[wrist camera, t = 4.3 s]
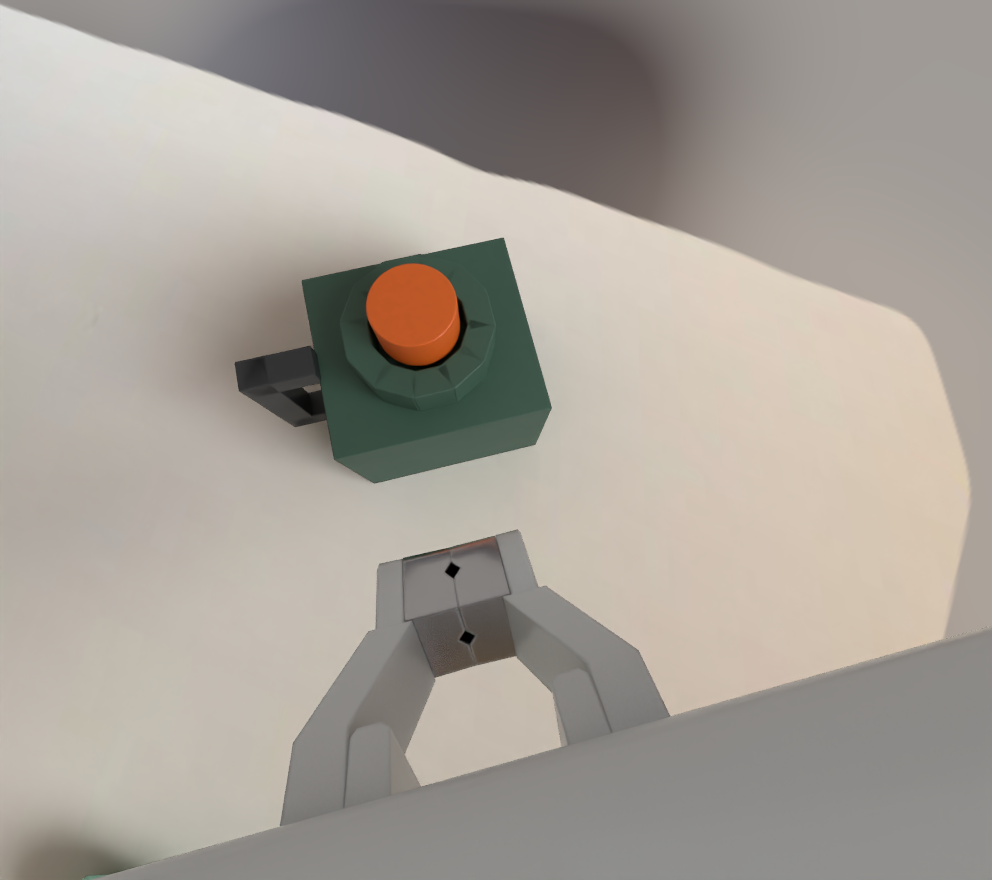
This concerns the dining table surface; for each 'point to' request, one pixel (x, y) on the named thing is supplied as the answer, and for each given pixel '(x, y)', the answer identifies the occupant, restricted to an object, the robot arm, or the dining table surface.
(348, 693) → the robot arm
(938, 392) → the dining table surface
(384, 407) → the button housing
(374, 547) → the dining table surface
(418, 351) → the button
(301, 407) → the jug handle
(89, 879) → the container
